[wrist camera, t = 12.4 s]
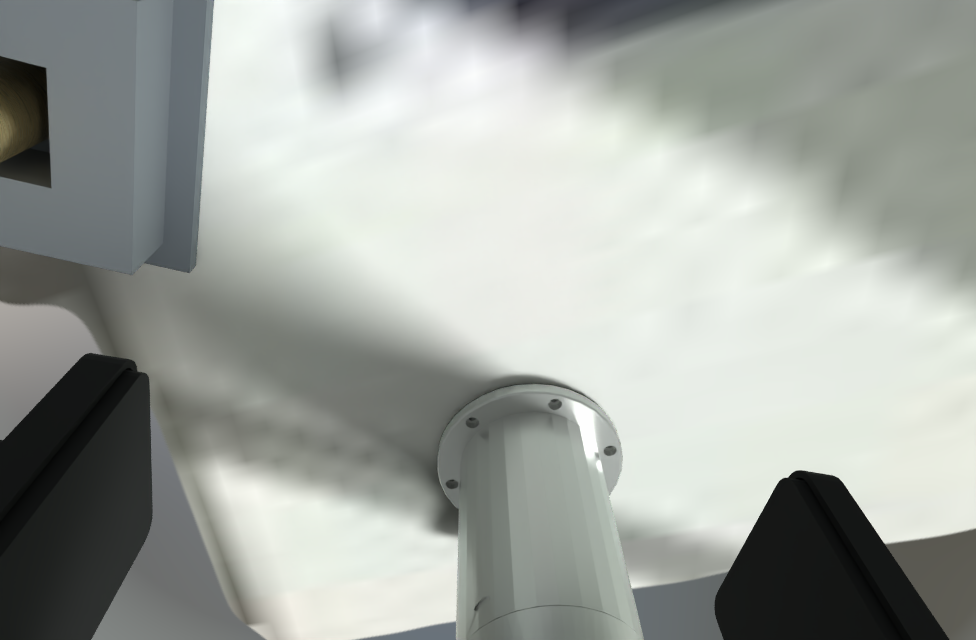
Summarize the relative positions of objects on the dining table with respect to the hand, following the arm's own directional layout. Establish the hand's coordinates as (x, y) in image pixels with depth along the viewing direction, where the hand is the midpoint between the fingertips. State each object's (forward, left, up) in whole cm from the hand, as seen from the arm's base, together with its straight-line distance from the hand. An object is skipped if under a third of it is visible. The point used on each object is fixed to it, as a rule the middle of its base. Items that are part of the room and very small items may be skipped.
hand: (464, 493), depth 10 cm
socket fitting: (-6, +21, -29) cm, 36 cm away
